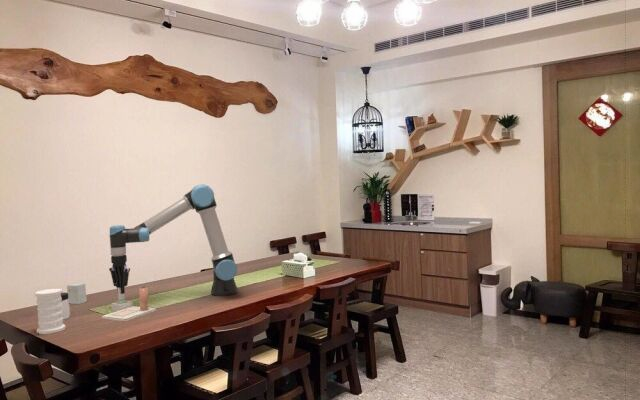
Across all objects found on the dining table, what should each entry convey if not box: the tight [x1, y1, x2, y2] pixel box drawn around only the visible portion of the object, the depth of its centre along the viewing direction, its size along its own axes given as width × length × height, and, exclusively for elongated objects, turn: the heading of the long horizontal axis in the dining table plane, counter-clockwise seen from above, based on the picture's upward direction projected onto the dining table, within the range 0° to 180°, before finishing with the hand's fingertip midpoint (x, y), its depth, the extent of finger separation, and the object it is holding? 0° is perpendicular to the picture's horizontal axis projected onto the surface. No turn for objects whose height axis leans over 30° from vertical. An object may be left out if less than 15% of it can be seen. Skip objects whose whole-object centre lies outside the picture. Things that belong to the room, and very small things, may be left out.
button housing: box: [110, 300, 133, 312], centre depth 265 cm, size 7×7×4 cm
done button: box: [116, 298, 127, 304], centre depth 265 cm, size 4×4×4 cm
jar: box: [61, 292, 71, 320], centre depth 251 cm, size 9×8×12 cm
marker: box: [138, 285, 149, 311], centre depth 256 cm, size 4×4×12 cm
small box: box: [66, 282, 87, 305], centre depth 284 cm, size 8×6×10 cm
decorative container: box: [34, 288, 66, 335], centre depth 230 cm, size 12×12×18 cm
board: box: [101, 305, 157, 322], centre depth 253 cm, size 16×20×1 cm
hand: (121, 299), depth 265 cm, fingers closed
